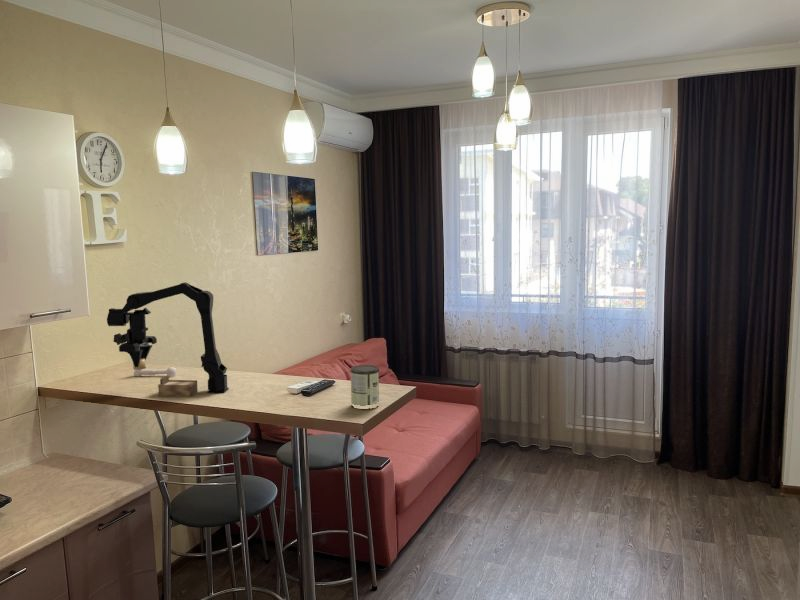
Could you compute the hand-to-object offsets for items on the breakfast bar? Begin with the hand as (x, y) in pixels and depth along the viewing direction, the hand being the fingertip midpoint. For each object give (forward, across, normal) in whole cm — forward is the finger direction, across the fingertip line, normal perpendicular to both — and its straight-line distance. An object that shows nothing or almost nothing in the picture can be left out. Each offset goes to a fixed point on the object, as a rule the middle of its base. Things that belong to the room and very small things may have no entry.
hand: (139, 365), depth 234 cm
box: (+11, 0, +15) cm, 19 cm away
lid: (+8, 0, +15) cm, 17 cm away
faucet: (+11, -27, -7) cm, 30 cm away
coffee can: (+11, +11, +89) cm, 90 cm away
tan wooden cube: (+1, 0, 0) cm, 1 cm away
